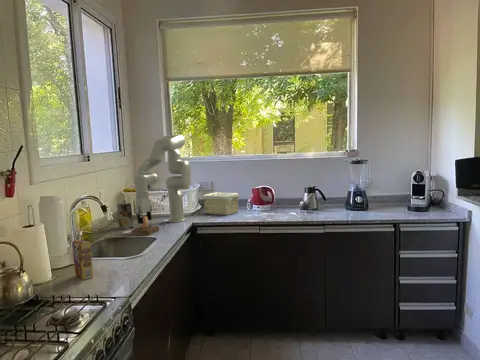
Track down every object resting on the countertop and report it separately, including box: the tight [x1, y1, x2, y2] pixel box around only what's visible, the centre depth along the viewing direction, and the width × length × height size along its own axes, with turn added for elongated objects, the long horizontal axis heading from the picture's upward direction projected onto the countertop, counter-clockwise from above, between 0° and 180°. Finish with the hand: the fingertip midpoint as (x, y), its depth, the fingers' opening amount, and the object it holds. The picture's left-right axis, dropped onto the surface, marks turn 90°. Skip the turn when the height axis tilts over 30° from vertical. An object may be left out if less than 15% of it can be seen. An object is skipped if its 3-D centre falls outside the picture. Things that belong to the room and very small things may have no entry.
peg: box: [141, 215, 149, 229], centre depth 231 cm, size 4×4×10 cm
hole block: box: [130, 225, 160, 236], centre depth 231 cm, size 12×12×3 cm
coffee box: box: [116, 202, 134, 229], centre depth 250 cm, size 9×6×16 cm
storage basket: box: [202, 191, 240, 216], centre depth 281 cm, size 24×16×15 cm
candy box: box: [71, 239, 94, 281], centre depth 156 cm, size 9×4×15 cm, turn 47°
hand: (144, 221), depth 231 cm, fingers open, 9 cm apart
